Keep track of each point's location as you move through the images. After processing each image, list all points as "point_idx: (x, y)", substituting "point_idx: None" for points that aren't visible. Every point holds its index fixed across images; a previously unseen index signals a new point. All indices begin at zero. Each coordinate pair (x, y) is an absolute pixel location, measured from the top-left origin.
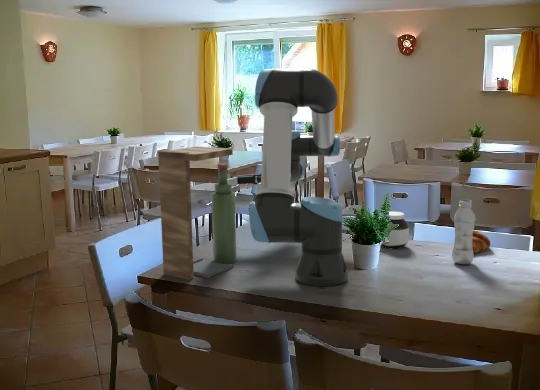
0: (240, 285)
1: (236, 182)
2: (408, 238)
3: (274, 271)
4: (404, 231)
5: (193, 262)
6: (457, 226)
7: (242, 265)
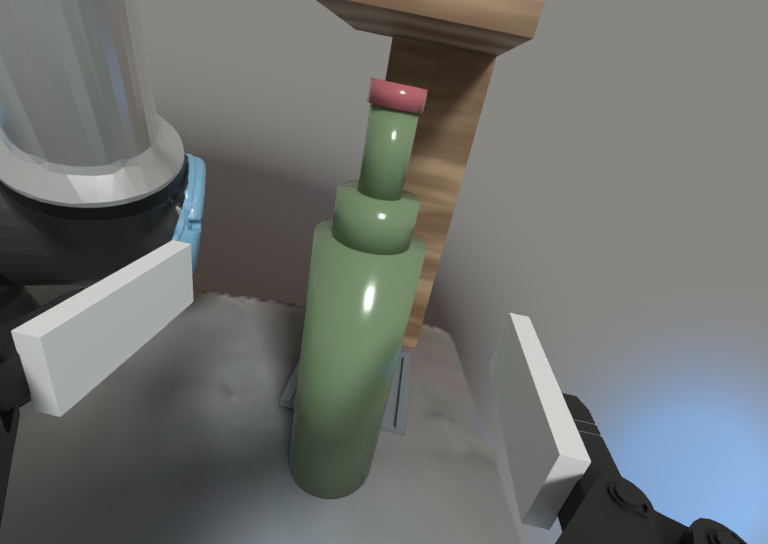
0: (225, 315)
1: (530, 482)
2: None
3: (132, 399)
4: None
5: (399, 394)
6: None
7: (252, 427)
